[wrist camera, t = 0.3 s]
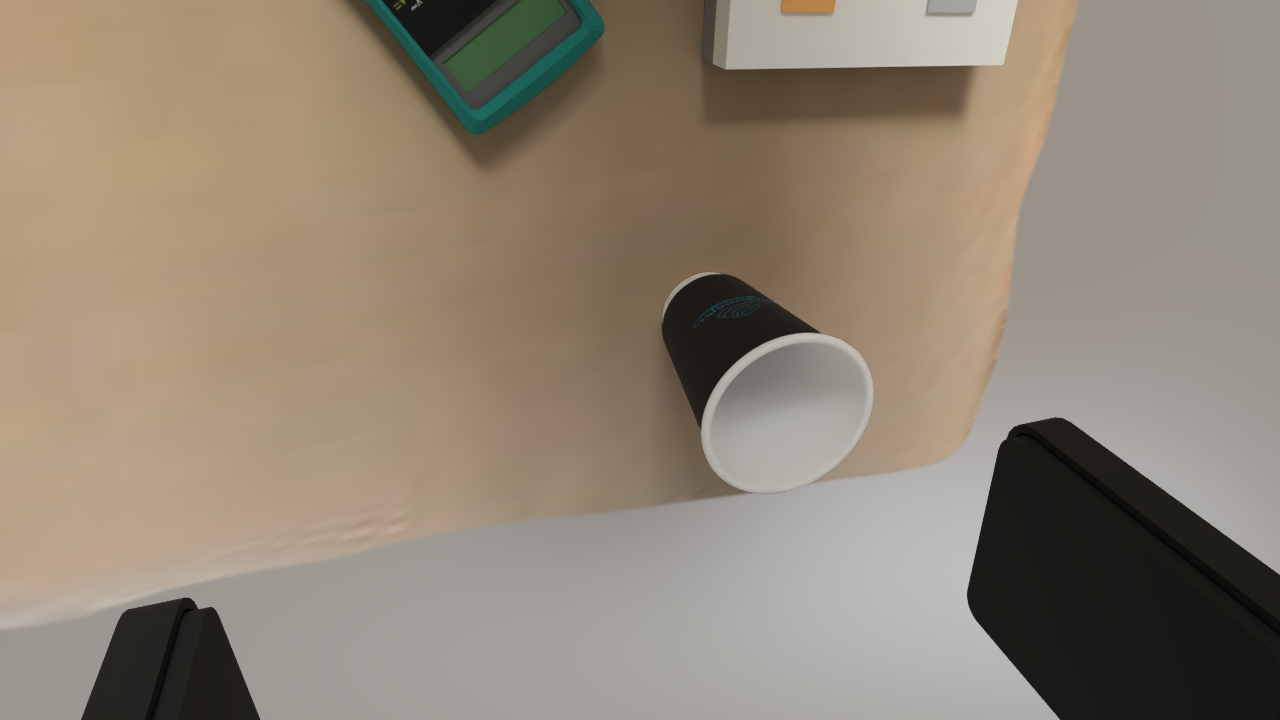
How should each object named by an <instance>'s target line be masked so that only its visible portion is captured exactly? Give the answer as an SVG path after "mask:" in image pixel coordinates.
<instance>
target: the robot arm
mask: <svg viewBox="0 0 1280 720" xmlns="http://www.w3.org/2000/svg"><path fill="white" fill-rule="evenodd" d="M967 599H968V604H969V608H970V610H971V612H972V614H973V616H974V618H975V619H976V621H977V622H978V623H979V624H980V626H981V627H982V628H983V629H984V630H985V631H986V633H987V634H988V635H989V636H990V637H991V639H992V640H993V641H994V642H995V643H996V644H997V646H998V647H999V648H1000V649H1001V650H1002V652H1003V653H1004V654H1005V655H1006V656H1007V657H1008V659H1009V660H1010V661H1011V662H1012V663H1013V664H1014V666H1015V667H1016V668H1017V669H1018V670H1019V671H1020V673H1021V674H1022V675H1023V676H1024V677H1025V678H1026V680H1027V681H1028V682H1029V683H1030V685H1031V686H1032V687H1033V688H1034V689H1035V690H1036V692H1037V693H1038V694H1039V695H1040V696H1041V698H1042V699H1043V700H1044V701H1045V702H1046V703H1047V705H1048V706H1049V707H1050V708H1051V709H1052V710H1053V712H1054V713H1055V714H1056V715H1057V716H1058V718H1059V719H1060V720H1280V575H1279V574H1278V573H1276V572H1275V571H1274V570H1272V569H1271V568H1269V567H1268V566H1267V565H1265V564H1264V563H1263V562H1261V561H1260V560H1259V559H1257V558H1256V557H1254V556H1253V555H1252V554H1250V553H1249V552H1248V551H1246V550H1245V549H1243V548H1242V547H1241V546H1239V545H1238V544H1237V543H1235V542H1234V541H1232V540H1231V539H1230V538H1228V537H1227V536H1225V535H1224V534H1223V533H1221V532H1220V531H1219V530H1217V529H1216V528H1215V527H1213V526H1212V525H1211V524H1209V523H1208V522H1206V521H1205V520H1204V519H1202V518H1201V517H1200V516H1198V515H1197V514H1196V513H1194V512H1193V511H1191V510H1190V509H1189V508H1187V507H1186V506H1185V505H1183V504H1182V503H1180V502H1179V501H1178V500H1176V499H1175V498H1174V497H1172V496H1171V495H1169V494H1168V493H1167V492H1165V491H1164V490H1163V489H1161V488H1160V487H1158V486H1157V485H1156V484H1154V483H1153V482H1152V481H1150V480H1149V479H1148V478H1146V477H1145V476H1143V475H1142V474H1141V473H1139V472H1138V471H1137V470H1135V469H1134V468H1132V467H1131V466H1130V465H1128V464H1127V463H1126V462H1124V461H1123V460H1122V459H1120V458H1119V457H1117V456H1116V455H1115V454H1113V453H1112V452H1111V451H1109V450H1108V449H1106V448H1105V447H1104V446H1102V445H1101V444H1100V443H1098V442H1097V441H1095V440H1094V439H1093V438H1091V437H1090V436H1089V435H1087V434H1086V433H1085V432H1083V431H1082V430H1080V429H1079V428H1078V427H1076V426H1075V425H1074V424H1072V423H1071V422H1069V421H1067V420H1065V419H1063V418H1056V417H1055V418H1050V419H1045V420H1041V421H1036V422H1031V423H1026V424H1022V425H1018V426H1015V427H1013V429H1012V430H1011V431H1010V432H1009V434H1008V437H1007V439H1006V440H1004V441H1003V442H1002V443H1001V445H1000V447H999V450H998V455H997V459H996V463H995V468H994V473H993V477H992V481H991V486H990V491H989V495H988V500H987V504H986V509H985V514H984V518H983V522H982V527H981V531H980V536H979V541H978V545H977V550H976V554H975V559H974V563H973V568H972V572H971V576H970V581H969V586H968V590H967ZM81 720H260V718H259V715H258V713H257V710H256V708H255V705H254V703H253V700H252V698H251V695H250V693H249V691H248V688H247V685H246V683H245V680H244V678H243V675H242V673H241V670H240V668H239V665H238V663H237V660H236V658H235V656H234V653H233V650H232V648H231V645H230V643H229V640H228V638H227V635H226V633H225V631H224V628H223V625H222V623H221V620H220V618H219V615H218V614H217V612H216V610H215V609H214V608H213V607H208V608H204V609H199V610H198V608H197V606H196V604H195V602H194V601H193V600H192V599H190V598H181V599H176V600H172V601H167V602H162V603H157V604H152V605H148V606H143V607H138V608H133V609H128V610H126V611H125V612H124V613H123V614H122V615H121V617H120V619H119V621H118V623H117V626H116V628H115V631H114V634H113V636H112V639H111V642H110V645H109V647H108V650H107V652H106V655H105V658H104V660H103V663H102V666H101V669H100V671H99V674H98V676H97V679H96V682H95V684H94V687H93V690H92V692H91V695H90V698H89V701H88V703H87V706H86V708H85V711H84V714H83V716H82V719H81Z"/></svg>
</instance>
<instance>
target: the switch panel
mask: <svg viewBox="0 0 1280 720" xmlns="http://www.w3.org/2000/svg"><path fill="white" fill-rule="evenodd" d="M1017 2H1018V0H705V7H704V24H703V42H702V59H703V60H705V61H707V62H709V63H712V64H714V65H716V66H719V67H721V68H723V69H726V70H728V69H788V68H848V67H908V66H968V65H1003V64H1004V60H1005V55H1006V51H1007V46H1008V42H1009V38H1010V33H1011V29H1012V24H1013V20H1014V15H1015V11H1016V6H1017Z"/></svg>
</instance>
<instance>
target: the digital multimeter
mask: <svg viewBox="0 0 1280 720" xmlns="http://www.w3.org/2000/svg"><path fill="white" fill-rule="evenodd" d="M365 1H366V2H367V3H368V4H369V5H370V7H371V8H372V9H373V10H374V12H375V13H376V14H377V15H378V17H379V18H380V19H381V20H382V22H383V23H384V24H385V25H386V26H387V28H388V29H389V30H390V31H391V33H392V34H393V35H394V36H395V38H396V39H397V40H398V41H399V43H400V44H401V45H402V46H403V47H404V49H405V50H406V51H407V53H408V54H409V55H410V57H411V58H412V59H413V61H414V62H415V63H416V64H417V66H418V67H419V68H420V70H421V71H422V72H423V74H424V75H425V76H426V78H427V79H428V80H429V81H430V83H431V84H432V85H433V87H434V88H435V89H436V91H437V92H438V93H439V95H440V96H441V97H442V98H443V100H444V101H445V102H446V104H447V105H448V106H449V108H450V109H451V110H452V112H453V113H454V114H455V116H456V117H457V118H458V119H459V121H460V122H461V123H462V125H463V126H464V127H465V129H466V130H467V131H469V132H470V133H471V134H477V135H479V134H481V133H483V132H485V131H487V130H488V129H490V128H491V127H493V126H494V125H496V124H497V123H499V122H500V121H502V120H503V119H504V118H506V117H507V116H509V115H510V114H512V113H513V112H514V111H516V110H517V109H519V108H520V107H521V106H523V105H524V104H526V103H527V102H528V101H530V100H531V99H532V98H534V97H535V96H536V95H537V94H539V93H540V92H541V91H542V90H543V89H545V88H546V87H547V86H548V85H550V84H551V83H552V82H553V81H554V80H556V79H557V78H558V77H559V76H560V75H561V74H562V73H563V72H564V71H565V70H567V69H568V68H569V67H570V66H571V65H572V64H573V63H574V62H575V61H576V60H577V59H578V58H580V57H581V56H582V55H583V54H584V53H585V52H586V51H587V50H588V49H589V48H590V47H591V46H592V45H593V44H594V43H595V42H596V41H597V40H598V39H599V38H600V37H601V35H602V34H603V32H604V23H603V20H602V18H601V17H600V15H599V14H598V13H597V11H596V10H595V9H594V7H593V6H592V5H591V3H590V2H589V0H365ZM576 29H577V30H576ZM575 30H576V31H575ZM574 31H575V32H574ZM570 34H571V35H570ZM565 38H566V39H565ZM461 97H462V98H461Z"/></svg>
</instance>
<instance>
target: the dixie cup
mask: <svg viewBox="0 0 1280 720" xmlns="http://www.w3.org/2000/svg"><path fill="white" fill-rule="evenodd" d="M662 333H663V339H664V342H665V345H666V347H667V350H668V352H669V354H670V357H671V359H672V362H673V364H674V367H675V369H676V371H677V374H678V376H679V379H680V381H681V384H682V386H683V388H684V391H685V393H686V396H687V398H688V400H689V403H690V405H691V408H692V410H693V413H694V415H695V417H696V420H697V422H698V425H699V427H700V430H701V440H702V447H703V451H704V454H705V457H706V459H707V461H708V463H709V465H710V466H711V468H712V469H713V471H714V472H715V473H716V474H717V475H718V476H719V477H720V478H721V479H723V480H724V481H725V482H727V483H728V484H730V485H731V486H733V487H736V488H738V489H741V490H743V491H747V492H752V493H759V494H771V493H780V492H786V491H790V490H793V489H797V488H800V487H802V486H805V485H807V484H809V483H811V482H813V481H815V480H817V479H819V478H820V477H822V476H823V475H825V474H826V473H828V472H829V471H831V470H832V469H833V468H834V467H836V466H837V465H838V464H839V463H840V462H841V461H842V460H843V459H844V458H845V457H846V456H847V455H848V454H849V453H850V451H851V450H852V449H853V448H854V446H855V445H856V444H857V442H858V441H859V439H860V437H861V436H862V434H863V432H864V430H865V428H866V426H867V423H868V421H869V418H870V415H871V411H872V406H873V398H874V389H873V381H872V377H871V374H870V371H869V368H868V366H867V364H866V363H865V361H864V359H863V358H862V356H861V355H860V354H859V353H858V352H857V351H856V350H855V349H854V348H853V347H852V346H850V345H849V344H847V343H846V342H844V341H842V340H840V339H838V338H835V337H832V336H829V335H825V334H822V333H820V332H819V331H817V330H816V329H814V328H813V327H811V326H810V325H808V324H807V323H805V322H804V321H802V320H801V319H799V318H798V317H796V316H794V315H793V314H791V313H790V312H788V311H787V310H785V309H784V308H782V307H781V306H779V305H778V304H776V303H775V302H773V301H772V300H770V299H769V298H767V297H766V296H764V295H763V294H761V293H760V292H758V291H757V290H755V289H754V288H752V287H751V286H749V285H748V284H746V283H745V282H743V281H742V280H740V279H738V278H736V277H733V276H730V275H725V274H721V273H716V272H704V273H699V274H696V275H693V276H691V277H689V278H687V279H685V280H684V281H682V282H681V283H680V284H679V285H677V286H676V287H675V288H674V290H673V291H672V292H671V293H670V295H669V297H668V298H667V300H666V302H665V305H664V308H663V313H662Z"/></svg>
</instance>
